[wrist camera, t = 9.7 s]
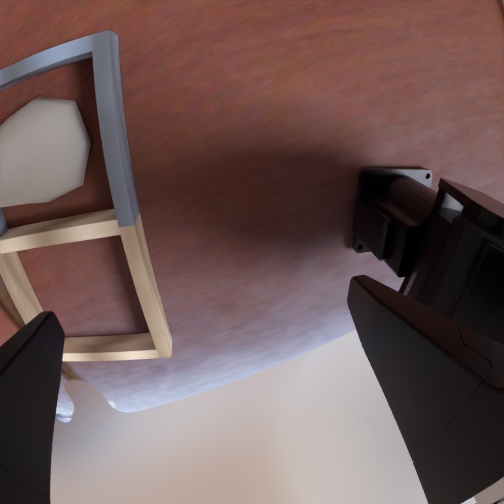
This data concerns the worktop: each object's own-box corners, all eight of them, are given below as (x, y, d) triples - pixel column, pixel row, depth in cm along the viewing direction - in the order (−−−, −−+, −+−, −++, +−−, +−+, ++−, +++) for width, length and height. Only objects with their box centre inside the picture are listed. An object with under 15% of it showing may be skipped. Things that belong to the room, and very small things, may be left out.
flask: (98, 195, 18) (31, 286, 9) (13, 205, 17) (-68, 285, 8) (90, 84, 14) (-7, 91, 6) (0, 107, 13) (-105, 142, 5)
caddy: (118, 35, 13) (108, 30, 11) (172, 339, 25) (171, 356, 23) (-29, 92, 12) (-46, 96, 10) (53, 345, 23) (47, 360, 22)
